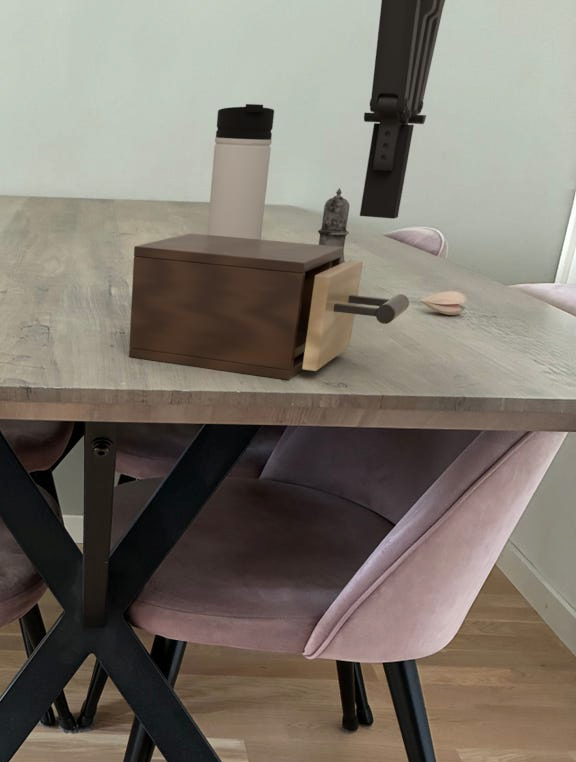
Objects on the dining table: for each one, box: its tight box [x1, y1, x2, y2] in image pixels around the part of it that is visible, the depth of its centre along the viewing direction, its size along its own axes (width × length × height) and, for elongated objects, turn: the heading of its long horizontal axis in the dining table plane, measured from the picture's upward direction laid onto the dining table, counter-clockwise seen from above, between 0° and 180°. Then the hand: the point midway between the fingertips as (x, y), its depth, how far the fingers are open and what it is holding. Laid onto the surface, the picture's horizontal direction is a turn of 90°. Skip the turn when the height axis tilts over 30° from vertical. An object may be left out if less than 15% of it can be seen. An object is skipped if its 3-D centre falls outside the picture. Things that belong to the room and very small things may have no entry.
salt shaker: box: [317, 188, 350, 264], centre depth 112 cm, size 6×6×12 cm
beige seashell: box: [419, 290, 468, 316], centre depth 107 cm, size 4×5×2 cm
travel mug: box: [206, 103, 275, 240], centre depth 109 cm, size 6×7×20 cm
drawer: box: [294, 259, 410, 372], centre depth 82 cm, size 18×11×7 cm, turn 63°
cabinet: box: [128, 232, 345, 381], centre depth 84 cm, size 15×13×9 cm
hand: (378, 216), depth 76 cm, fingers closed
